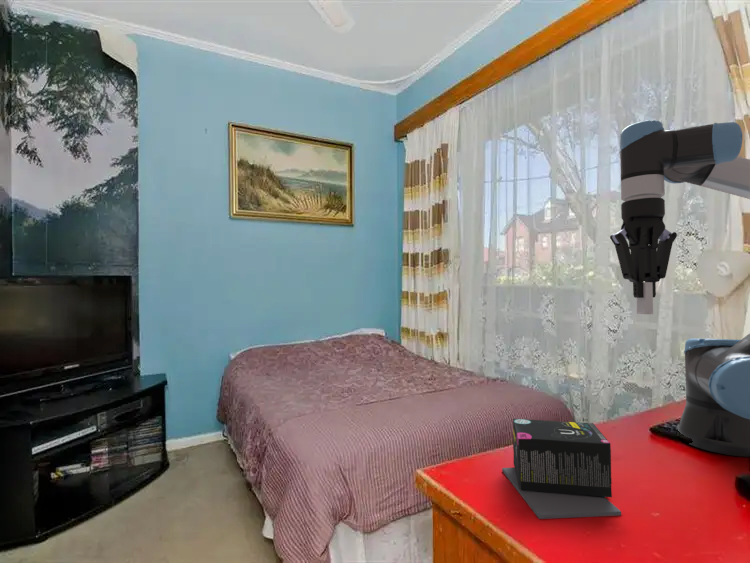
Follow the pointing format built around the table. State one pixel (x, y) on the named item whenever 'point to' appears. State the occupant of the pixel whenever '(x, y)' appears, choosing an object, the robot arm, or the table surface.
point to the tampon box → (561, 457)
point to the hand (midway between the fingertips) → (644, 313)
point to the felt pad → (563, 502)
